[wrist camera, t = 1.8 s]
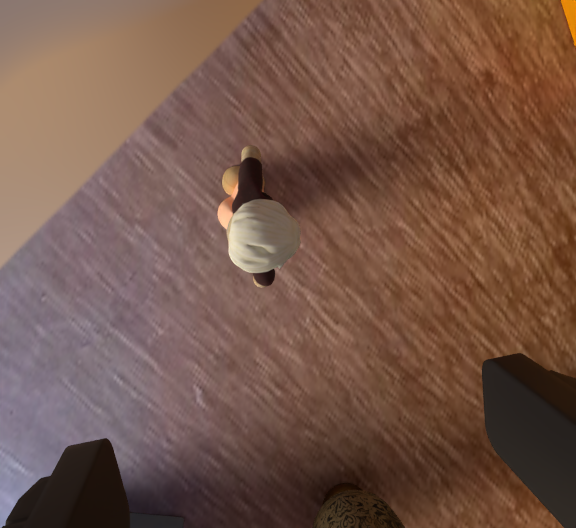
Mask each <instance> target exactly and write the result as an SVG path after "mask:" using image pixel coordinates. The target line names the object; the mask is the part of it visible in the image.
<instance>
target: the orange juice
mask: <svg viewBox="0 0 576 528" xmlns="http://www.w3.org/2000/svg"><path fill="white" fill-rule="evenodd" d="M561 3H562V6H563V9H564V13H565V16H566V19H567V22H568V25H569V28H570V31H571V35H572V38H573V41H574V44H575V47H576V0H561Z"/></svg>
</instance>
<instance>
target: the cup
mask: <svg viewBox="0 0 576 528" xmlns="http://www.w3.org/2000/svg"><path fill="white" fill-rule="evenodd" d="M313 528H405V527H404V525H403V524H402V522H401V521H400V519H399V518H398V517H397V515H396V514H395V513H394V511H393V510H392V509H391V508H390V507H389V506H388V504H387V503H386V502H385V501H383V500H382V499H381V498H379V497H378V496H376V495H375V494H372V493H370V492H367V491H363V490H362V489H361V488H360V487H358V486H356V485H354V484H351V483H342V484H338V485H336V486H334V487H333V488H331V489H330V490H329V491H328V492H327V494H326V495H325V498H324V500H323V505H322V507H321V508H320V510H319V511H318V513H317V515H316V518H315V520H314V524H313Z"/></svg>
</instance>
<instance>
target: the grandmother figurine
mask: <svg viewBox="0 0 576 528" xmlns="http://www.w3.org/2000/svg"><path fill="white" fill-rule="evenodd" d="M260 157H261V153H260V151H259V149H258V148H257V147H255V146H252V145H249V146H247V147H245V148H244V149H243V151H242V160H241V164H240V166H233V167H230V168H229V169H227V170H226V172H225V173H224V175H223V181H222V184H223V188H224V190H225V192H226V193H227V194H229V195H231V196H230V197H228V198H227V199H225V200H224V201H223V202H222V203H221V204H220V206H219V209H218V218H219V221H220V222H221V224H222V226H224V227H225V228H226V229H227V238H228V242H229V256H230V258H231V260H232V261H233V263H234V264H235V265H237V266H238V267H240V268H242V269H243V270H244V271H247V272H250V273H253V276H254V279H253V280H254V283H255V284H256V285H257V286H258V287H261V288H264V287H267V286H269V285H271V284H272V283H273V281H274V278H275V270H274V268H276V267H279V268H281V267H282V266H283V264H284V263H285V262H286V261H287V260H288V259H289V258H290V257H292V256H293V255H294V254H295V252H296V250H297V249H298V247H299V245H300V225H299V223H298V222H297V221H296V220H295V219H294V218H293V217H291V216H290V215H289V214H288V212H287V210H286V209H285V208H284V206H282V205H281V204H280V203H278V202H277V201H273V199H272V198H271V197H270V196H269V195H267V194H266V193H264V185H265V180H264V177H263V176H262V164H261V159H260Z"/></svg>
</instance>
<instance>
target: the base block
mask: <svg viewBox="0 0 576 528" xmlns="http://www.w3.org/2000/svg"><path fill="white" fill-rule="evenodd" d="M183 523H184V518H183V517H172V516H161V515H151V514H140V513H130V528H183Z"/></svg>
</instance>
